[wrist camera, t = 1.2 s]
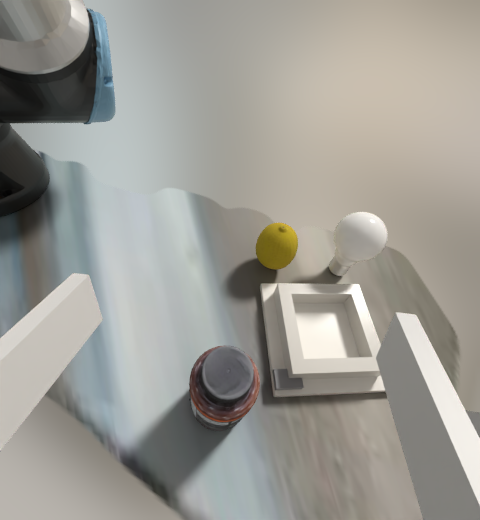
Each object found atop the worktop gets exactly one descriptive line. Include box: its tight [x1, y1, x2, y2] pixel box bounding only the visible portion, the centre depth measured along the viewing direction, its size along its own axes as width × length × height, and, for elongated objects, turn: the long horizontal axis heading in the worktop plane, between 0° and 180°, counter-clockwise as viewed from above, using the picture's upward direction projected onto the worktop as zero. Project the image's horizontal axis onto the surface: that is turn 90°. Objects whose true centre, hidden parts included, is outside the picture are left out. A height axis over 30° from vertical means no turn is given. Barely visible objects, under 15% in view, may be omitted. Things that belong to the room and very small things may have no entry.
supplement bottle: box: [189, 346, 260, 431], centre depth 26 cm, size 6×6×11 cm
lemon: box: [256, 223, 298, 269], centre depth 39 cm, size 6×6×8 cm
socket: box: [260, 283, 386, 397], centre depth 35 cm, size 14×14×4 cm
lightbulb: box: [329, 212, 388, 276], centre depth 39 cm, size 6×6×11 cm
